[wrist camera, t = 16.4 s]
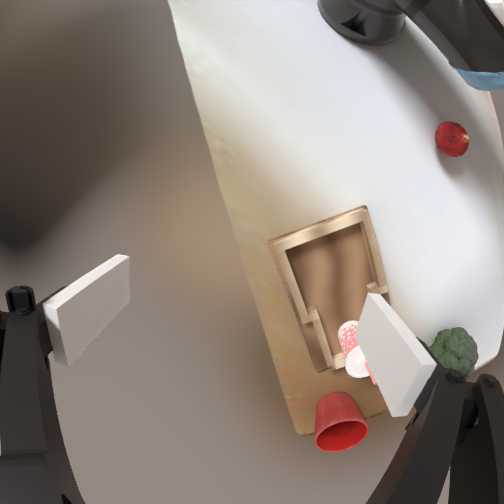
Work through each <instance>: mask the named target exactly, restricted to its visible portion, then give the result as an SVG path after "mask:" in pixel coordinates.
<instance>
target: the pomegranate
mask: <svg viewBox="0 0 504 504" xmlns="http://www.w3.org/2000/svg"><path fill="white" fill-rule="evenodd" d="M435 141H436V144H437V146H438V147H439V149H440V150H441V151H442V152H443V153H444V154H446V155H448V156H451V157H458V156H461V155H463V154H464V153H465V151H466V150H467V148H468V144H469V141H470V138H469V136H468V135H467V133H466V131H465V129H464V128H463V127H462V126H461V125H459V124H457V123H455V122H444V123H442V124H441V125H440V126H438V128H437V130H436V133H435Z"/></svg>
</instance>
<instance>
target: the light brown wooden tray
mask: <svg viewBox="0 0 504 504" xmlns="http://www.w3.org/2000/svg"><path fill="white" fill-rule="evenodd" d="M268 245H269V248H270V250H271V253H272V255H273V258H274V260H275V263H276V266H277V268H278V271H279V273H280V276H281V278H282V281H283V284H284V286H285V289H286V291H287V294H288V297H289V299H290V302H291V304H292V307H293V310H294V312H295V315H296V318H297V320H298V323H299V326H300V328H301V331H302V334H303V336H304V339H305V342H306V344H307V347H308V350H309V352H310V355H311V358H312V360H313V363H314V366H315V368H316V371H317V372H318V371H321V370H324V369H327V368H328V369H329V372H330V371H333V370H336V369H339V368H342V367H344V366H345V358H344V355H343V351H342V348H341V344H340V341H339V337H338V331H339V329H340V327H341V326H342V325H343V324H344V323H346V322H348V321H353V320H354V321H358V322H359V319H360V316H361V313H362V310H363V307H364V304H365V301H366V297H367V294H368V293H375V294H380V295H381V296H382V297H383V298H384V300H385V301H386V302H387V303H388V304H389V305H390V299H389V294H388V289H387V284H386V279H385V274H384V270H383V266H382V261H381V257H380V253H379V249H378V245H377V241H376V237H375V233H374V230H373V226H372V222H371V219H370V215H369V212H368V209H367V206H365V205H363V206H361V207H358V208H355V209H353V210H350V211H347V212H344V213H342V214H339V215H336V216H334V217H331V218H328V219H326V220H323V221H320V222H317V223H315V224H312V225H309V226H307V227H304V228H301V229H299V230H296V231H293V232H291V233H288V234H285V235H283V236H280V237H277V238H274V239H272V240H269V241H268ZM390 307H391V305H390Z"/></svg>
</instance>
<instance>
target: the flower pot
mask: <svg viewBox="0 0 504 504" xmlns="http://www.w3.org/2000/svg"><path fill="white" fill-rule="evenodd" d="M368 431H369V426H368V424H367V422H366V420H365V418H364V417H363V415H362V413H361V412H360V410H359V408H358V407H357V405H356V404H355V402H354V401H353V399H352V398H351V396H350V395H348V394H346V393H341V392H336V393H331V394H329V395H326V396H325V397H323V398H322V399H321V400H320V401H319V402H318V404H317V410H316V423H315V438H314V442H315V445H316V446H317V447H318V448H319V449H321V450H323V451H328V452H336V451H341V450H345V449H349V448H351V447H353V446H355V445H357V444H359V443H360V442H361V441H363V440H364V438H365V437H366V436H367V434H368Z"/></svg>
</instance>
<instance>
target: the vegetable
mask: <svg viewBox="0 0 504 504" xmlns="http://www.w3.org/2000/svg"><path fill="white" fill-rule="evenodd" d="M429 350H431V352H432V353H433V355H435V357H436V358H437V359H438V360H439V362H440V363H441V364H442V366H443V367H444V368H452V369H455V370H457V371H459V372H460V373H461V374H462V375H463V376H464V377H465V379H467V378H469V377H470V376H471V375H472V374H473V372H474V367H475V366H474V365H475V364H476V362H477V359H478V353H477V345H476V343H475V342H474V340H473V338H472V337H471V336H470V335H468V333H467V332H466V331H465V330H464V328H460V327H457V328H452V330H451V331H450V330H449V329H445V330H443V331H440V332H439V333H438V335H437V337H436V338H435V343H433V344H432V346H430V347H429Z"/></svg>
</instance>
